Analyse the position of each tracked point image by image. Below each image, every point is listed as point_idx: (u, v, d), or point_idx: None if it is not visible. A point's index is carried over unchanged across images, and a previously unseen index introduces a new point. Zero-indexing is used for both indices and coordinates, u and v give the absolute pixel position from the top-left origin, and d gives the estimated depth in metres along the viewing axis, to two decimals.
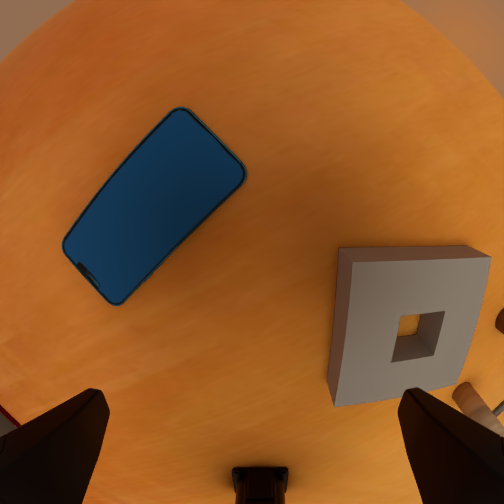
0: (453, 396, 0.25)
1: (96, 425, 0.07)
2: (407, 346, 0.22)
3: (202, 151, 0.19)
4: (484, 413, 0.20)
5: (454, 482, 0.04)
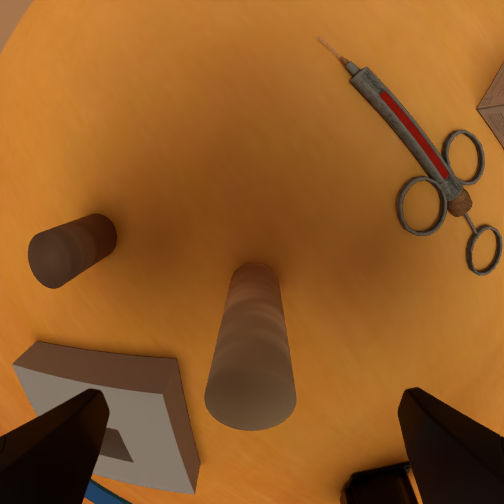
0: None
1: (96, 425, 0.07)
2: None
3: None
4: None
5: (454, 482, 0.04)
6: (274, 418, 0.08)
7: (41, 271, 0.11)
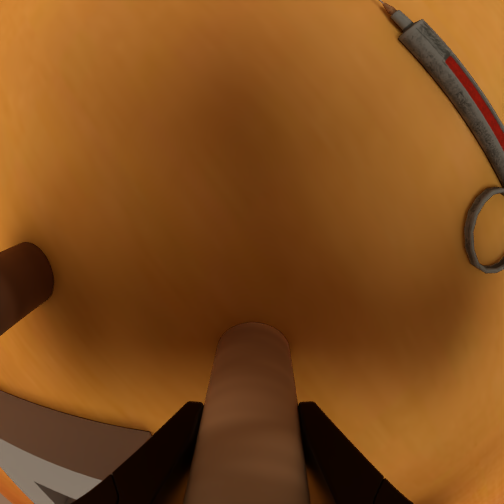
0: None
1: None
2: None
3: None
4: None
5: None
6: None
7: None
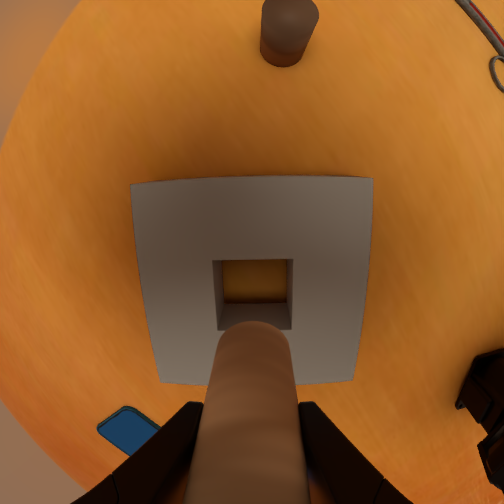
0: None
1: None
2: (289, 278, 0.17)
3: (120, 426, 0.23)
4: None
5: None
6: None
7: (280, 19, 0.10)
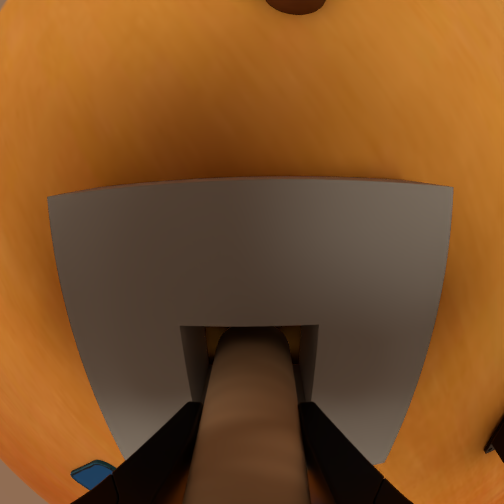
0: None
1: None
2: (307, 341, 0.11)
3: (95, 478, 0.16)
4: None
5: None
6: None
7: None
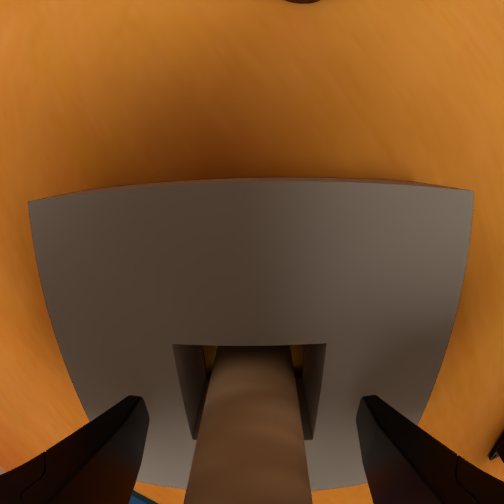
0: None
1: (138, 434, 0.07)
2: (311, 357, 0.10)
3: None
4: None
5: (403, 500, 0.04)
6: None
7: None
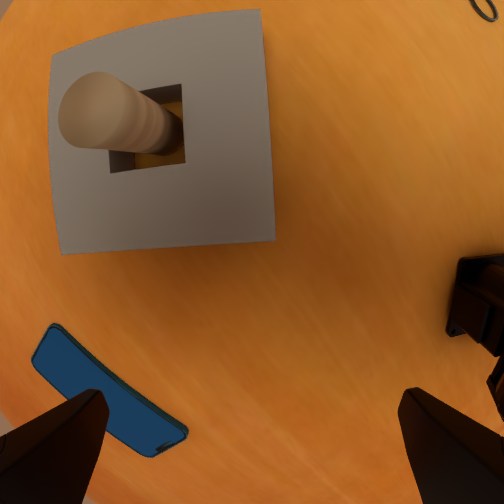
0: (168, 153, 0.17)
1: (96, 425, 0.07)
2: None
3: (50, 353, 0.20)
4: None
5: (454, 482, 0.04)
6: (107, 124, 0.08)
7: None
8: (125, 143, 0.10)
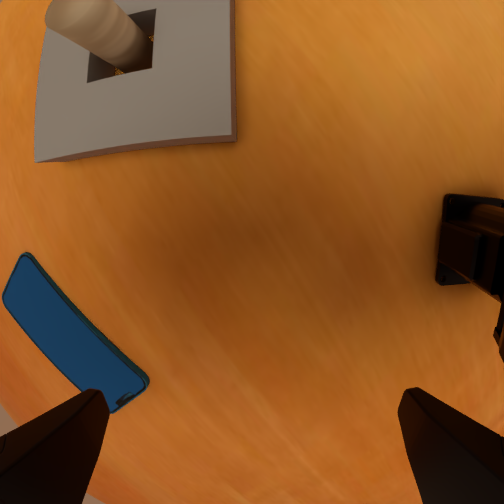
0: None
1: (96, 425, 0.07)
2: None
3: (19, 286, 0.20)
4: None
5: (454, 482, 0.04)
6: (80, 10, 0.07)
7: None
8: (95, 34, 0.09)
